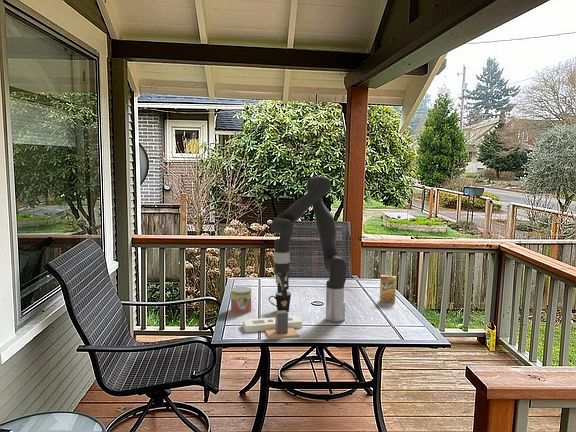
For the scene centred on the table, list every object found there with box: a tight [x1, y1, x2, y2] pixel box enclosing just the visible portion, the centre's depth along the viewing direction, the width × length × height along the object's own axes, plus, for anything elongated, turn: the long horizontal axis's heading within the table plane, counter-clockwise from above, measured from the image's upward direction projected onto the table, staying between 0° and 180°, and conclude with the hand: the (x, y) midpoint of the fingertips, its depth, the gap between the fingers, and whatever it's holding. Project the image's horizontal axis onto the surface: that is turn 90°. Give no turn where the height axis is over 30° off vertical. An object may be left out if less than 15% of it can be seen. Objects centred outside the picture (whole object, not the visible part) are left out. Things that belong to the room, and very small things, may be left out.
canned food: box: [230, 286, 252, 315], centre depth 246 cm, size 11×11×12 cm
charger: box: [275, 310, 289, 334], centre depth 212 cm, size 5×4×10 cm
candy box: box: [379, 274, 397, 304], centre depth 265 cm, size 9×4×15 cm, turn 72°
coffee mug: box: [268, 290, 292, 313], centre depth 246 cm, size 12×9×10 cm
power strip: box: [242, 315, 303, 333], centre depth 222 cm, size 28×9×3 cm, turn 105°
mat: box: [264, 327, 299, 340], centre depth 213 cm, size 14×10×1 cm
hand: (282, 295), depth 210 cm, fingers open, 8 cm apart
